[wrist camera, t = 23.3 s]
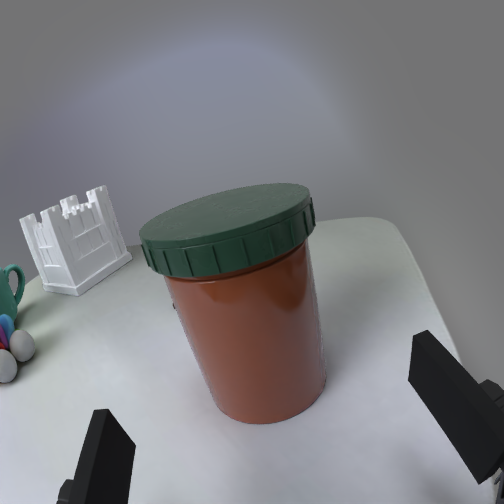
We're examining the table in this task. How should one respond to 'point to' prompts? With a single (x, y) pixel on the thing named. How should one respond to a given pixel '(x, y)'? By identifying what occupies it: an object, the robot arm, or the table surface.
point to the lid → (228, 230)
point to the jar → (256, 336)
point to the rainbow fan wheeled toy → (13, 348)
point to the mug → (10, 291)
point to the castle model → (76, 243)
